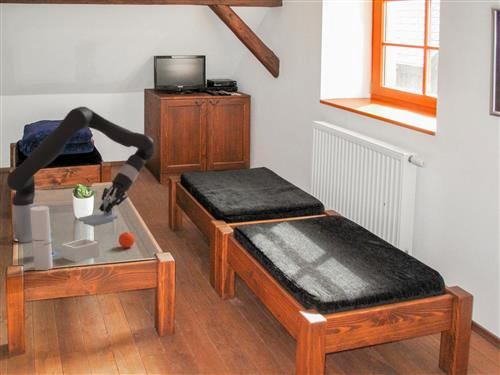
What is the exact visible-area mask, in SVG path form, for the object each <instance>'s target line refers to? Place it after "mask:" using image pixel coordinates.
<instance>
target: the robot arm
mask: <svg viewBox="0 0 500 375" xmlns="http://www.w3.org/2000/svg"><path fill="white" fill-rule="evenodd" d="M85 128H89V129H93V130H95V131H98V132H100V133H102V134H103V135H105V137H107V138H108V139H110V140H111V141H113V142H114V143H117V144H119V145H120V146H123V147H125V148H131V147H134V148H136V149H137V150H136V151H135V153H134V154H131V155H130V156H129V157H128V158H127V159H126V161H125V163H124V164H123V165H122V167H121V168H120V169H119V170H118V173H116V175H115V177H114V178H113V179H112V185H111V186H110V187H109V188H107V187H105V188H104V189H103V191H102V195H101V197H100V198H101V201H103V200H111V201H110V203H109V204H108V205H107V207H106V208H105V212H107V213H109V212H110V211H111V209H112V210H113V208H114V207H116V206H117V207H118V206H119V205H120V204H122V203H123V202H124V201H125V200H126V199H127V198H128V197H129V196H128V194H127V192H128V191H129V190H130V189H131V186H132V185H133V184H134V182H135V181H136V179H137V177H138V175H139V173H140V172H141V170H143V167H144V166H145V164H147V163H148V162H149V160H151V158H152V157H153V155H154V153H155V150H156V149H155V142H154V140H153V138H152V137H150V136H149V135H146V134H143V133H140V132H134V131H132V130H129V129H128V128H126V127H123V126H120V125H119V124H116V123H114V122H112V121H110V120H108V119H106V118H104V117H102V116H101V115H99V114H98V113H96V112H95V111H94V110H92V109H91V108H89V107H88V106H87V107H86V106H79V107H76V108H73V109H71V110H70V111H69V112H68V113H67V114H66V116H65V117H64V118H63V120H62V121H61V123H60V124H58V126H57V127H56V128H55V129H54V130H53V131H52V132H50V133H49V134H48V135H47V136H46V137H45V138H44V139H42V141H41V142H40V143H39V144H37V146H36V147H35V149H33V151H31V153H30V154H29V155H28V156H27V157H26V159H25V160H24V161H23V162H22V163H21V164H20V165H18V166H17V167H15V169H13V170H12V171H11V172H10V173H8V175H7V177H6V183H7V186H8V188H9V189H10V190H12V191H15V194H14V195H13V197H12V199H11V203H12V216H13V220H12V227H13V239H14V240H15V239H17V240H18V241H19V242H18V243H31V242H33V240H32V225H31V210H30V209H31V208H33V207H35V205H34V199H35V196H36V189H35V188H36V187H35V174H36V173H38V172H39V171H41V170H42V169H44V168H45V167H46V166H48V165H50V164H51V163H52V162H53V161H54V160H56V158H57V157H58V156H59V155H60V154H62V153H63V151H64V149H65V147H66V145H67V144H68V142H69V140H70V139H71V138H72V137H74V136H75V135H76V134H77V133H78V132H79V131H81V130H83V129H85ZM99 210H100V212H101V213H102V212H104V207H103V202H102V203H101V205H100V206H99ZM14 240H13V241H14Z"/></svg>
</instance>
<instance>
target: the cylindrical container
mask: <svg viewBox="0 0 500 375" xmlns="http://www.w3.org/2000/svg"><path fill="white" fill-rule="evenodd" d="M30 210H31V225H32V240H33V241H32V252H33V268H34V270H35V271H37V270H46V271H49V269H50V270H52V269H53V268H54V267H53V258H52V250H53V249H52V242H51V233H50V230H51V220H50V208H49V206H45V205H39V206H34V207H33V208H31V209H30Z"/></svg>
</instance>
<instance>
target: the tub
mask: <svg viewBox="0 0 500 375" xmlns="http://www.w3.org/2000/svg"><path fill="white" fill-rule="evenodd" d="M99 245H100V243H99V241H96V240H93V239H90V238H87V237H86V238H81V239H77V240H73V241H70V242H65V243H62V257H63V259H66V260H68V261H72V262H75V263H77V262H81V261H85V260H88V259H89V260H90V259H93V258H96V257H99V256H100V246H99Z"/></svg>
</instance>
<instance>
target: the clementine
mask: <svg viewBox="0 0 500 375" xmlns="http://www.w3.org/2000/svg"><path fill="white" fill-rule="evenodd" d="M118 244H119V245H120V246H121V247H122V248H125V249H126V248H127V249H128V248H131V247H132V246H133V245H134V244H135V236H134V234H132V233H131V231H124V232H122V233H121V234H119V237H118Z"/></svg>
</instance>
